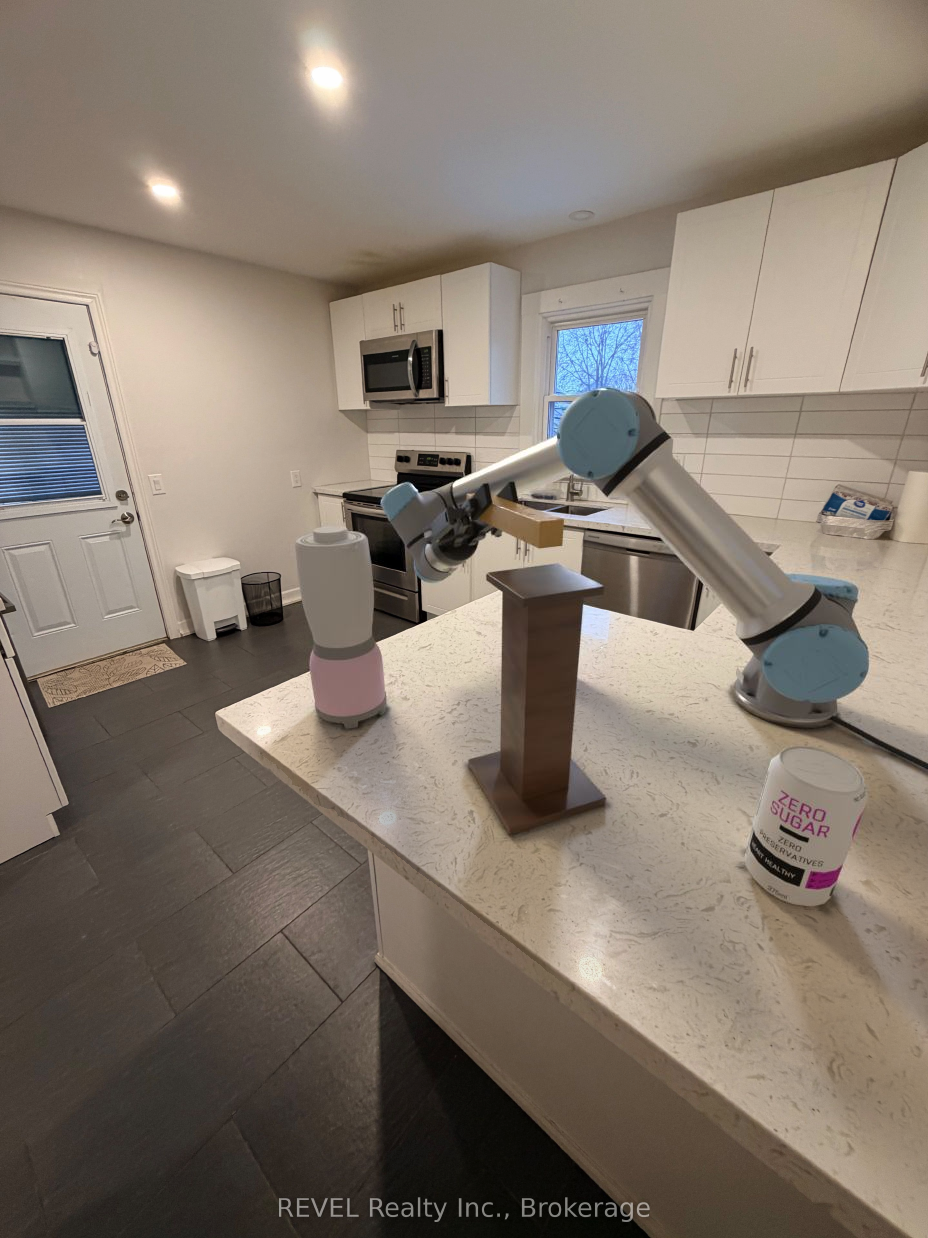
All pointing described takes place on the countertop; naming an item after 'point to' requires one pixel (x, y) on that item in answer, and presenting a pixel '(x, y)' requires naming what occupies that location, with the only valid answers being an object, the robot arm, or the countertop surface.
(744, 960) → the countertop surface
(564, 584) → the brown pedestal stand
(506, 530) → the golden brown bar
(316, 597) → the blender
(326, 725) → the countertop surface
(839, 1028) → the countertop surface
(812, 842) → the supplement can
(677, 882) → the countertop surface
